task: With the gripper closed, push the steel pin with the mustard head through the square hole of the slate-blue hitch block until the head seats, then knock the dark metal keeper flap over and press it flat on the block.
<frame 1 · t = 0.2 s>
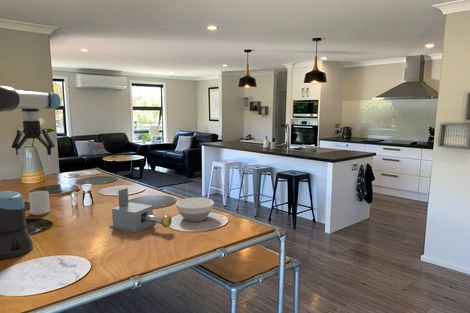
hand: (34, 161, 174), 28 cm above the table, fingers open, 13 cm apart
hitch block: (133, 225, 160), on the table
pin: (152, 218, 155), point 5 cm above the table, slide at 0.0 cm
keeper flap: (123, 197, 161), point 13 cm above the table, hinge at 90.0°
mug: (40, 212, 180), on the table
bowl: (195, 218, 171), on the table
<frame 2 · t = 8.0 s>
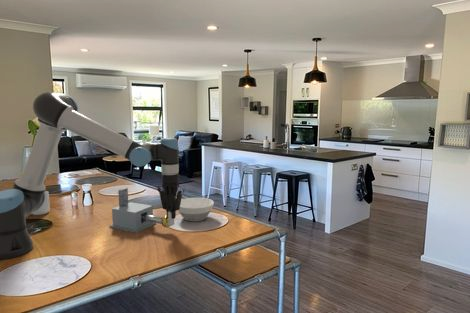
hand: (171, 225, 150), 4 cm above the table, fingers closed
pin: (152, 218, 155), point 5 cm above the table, slide at 0.0 cm, touching gripper
everything else where it was.
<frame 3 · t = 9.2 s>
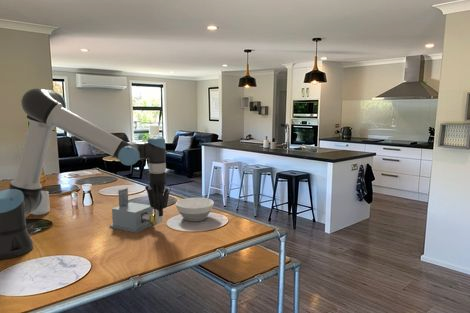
hand: (158, 222, 153), 4 cm above the table, fingers closed
pin: (140, 216, 158), point 5 cm above the table, slide at 7.0 cm, touching gripper
everything else where it was.
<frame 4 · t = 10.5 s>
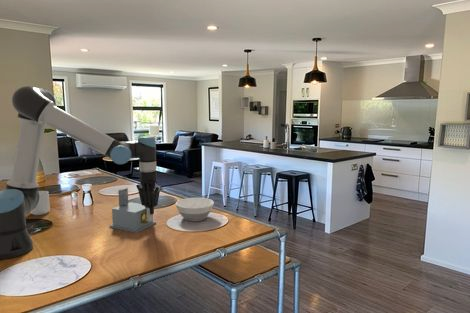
hand: (150, 220, 155), 4 cm above the table, fingers closed
pin: (132, 215, 160), point 5 cm above the table, slide at 12.0 cm, touching gripper, hitch block
everything else where it was.
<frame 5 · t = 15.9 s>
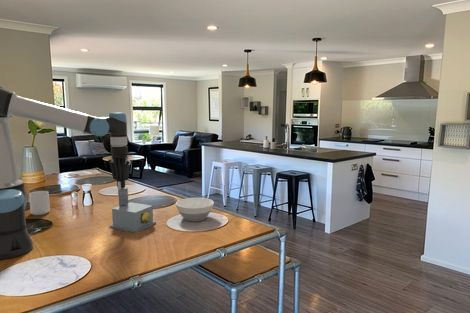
hand: (121, 194, 161), 14 cm above the table, fingers closed
pin: (132, 215, 160), point 5 cm above the table, slide at 12.0 cm
keeper flap: (123, 197, 161), point 13 cm above the table, hinge at 90.0°, touching gripper
everything else where it was.
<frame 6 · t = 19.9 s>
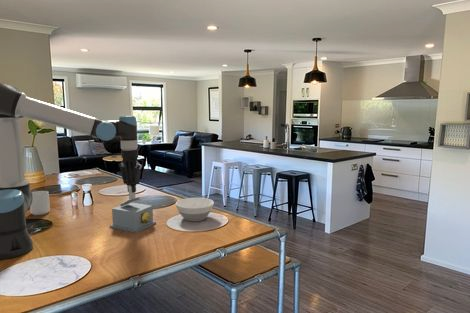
hand: (132, 198, 159), 13 cm above the table, fingers closed
keeper flap: (129, 202, 159), point 11 cm above the table, hinge at 24.5°, touching gripper
everything else where it was.
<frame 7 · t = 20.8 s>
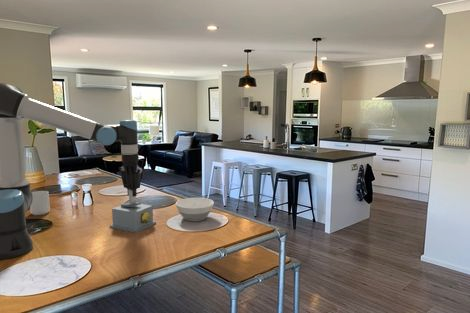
hand: (132, 202, 159), 11 cm above the table, fingers closed
keeper flap: (130, 204, 159), point 10 cm above the table, hinge at 7.0°, touching gripper
everything else where it was.
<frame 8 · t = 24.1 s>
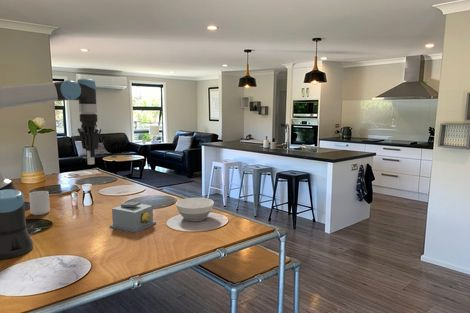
hand: (91, 164, 158), 29 cm above the table, fingers closed
keeper flap: (130, 204, 159), point 10 cm above the table, hinge at 6.8°
everything else where it was.
at the end: pin slide at 12.0 cm; keeper flap at +7° (first picture: +90°); keeper flap touching nothing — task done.
